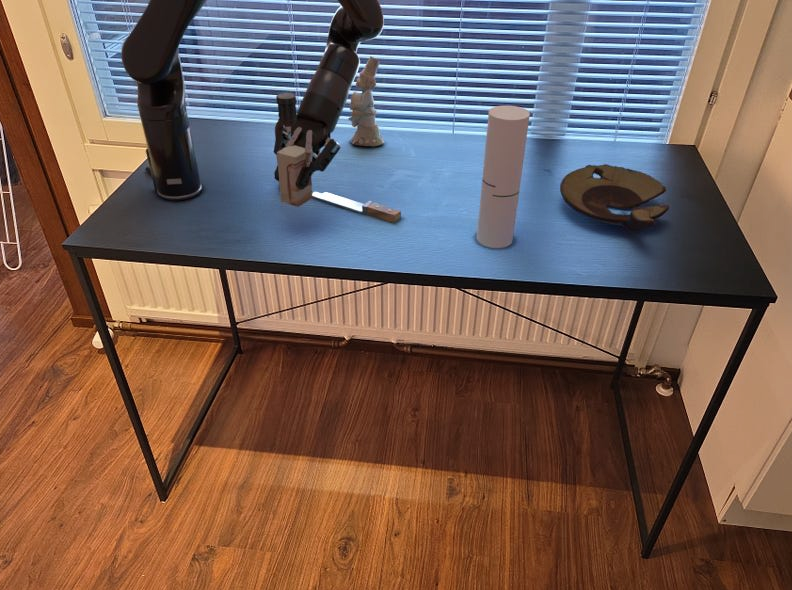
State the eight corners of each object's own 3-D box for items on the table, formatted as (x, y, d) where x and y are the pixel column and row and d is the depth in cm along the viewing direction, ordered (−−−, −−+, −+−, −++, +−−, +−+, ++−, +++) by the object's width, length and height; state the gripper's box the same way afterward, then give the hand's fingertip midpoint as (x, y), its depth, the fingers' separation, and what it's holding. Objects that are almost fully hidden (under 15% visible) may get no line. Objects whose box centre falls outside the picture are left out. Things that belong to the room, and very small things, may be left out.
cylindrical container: (489, 226, 136) (503, 102, 120) (519, 238, 132) (537, 111, 116) (469, 239, 132) (480, 113, 116) (499, 252, 128) (515, 123, 112)
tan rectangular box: (298, 208, 127) (294, 157, 120) (280, 202, 128) (274, 152, 122) (314, 197, 130) (310, 147, 124) (296, 192, 132) (291, 142, 125)
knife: (309, 197, 145) (308, 188, 144) (318, 191, 147) (318, 183, 146) (393, 224, 136) (393, 215, 135) (401, 218, 138) (402, 209, 137)
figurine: (383, 135, 172) (382, 54, 159) (384, 148, 166) (384, 64, 153) (349, 136, 172) (345, 54, 159) (349, 149, 165) (345, 64, 152)
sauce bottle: (302, 194, 146) (294, 102, 133) (275, 191, 147) (265, 100, 134) (311, 181, 151) (304, 92, 138) (285, 179, 152) (276, 89, 139)
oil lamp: (662, 193, 149) (671, 160, 144) (666, 260, 127) (678, 224, 122) (561, 180, 153) (567, 148, 148) (548, 243, 131) (555, 208, 126)
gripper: (284, 83, 125) (248, 166, 125) (346, 98, 119) (308, 185, 119) (304, 103, 132) (270, 182, 132) (363, 119, 126) (328, 201, 126)
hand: (288, 183), depth 125 cm, fingers closed on tan rectangular box, 4 cm apart
